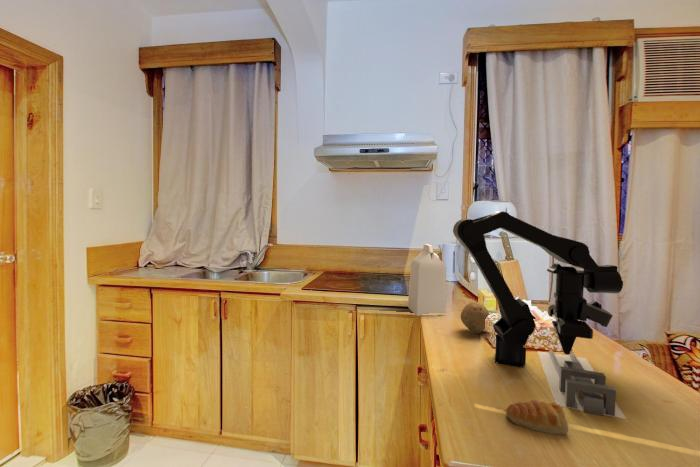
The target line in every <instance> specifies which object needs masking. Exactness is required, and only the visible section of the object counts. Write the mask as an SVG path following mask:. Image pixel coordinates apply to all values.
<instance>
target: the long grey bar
mask: <svg viewBox="0 0 700 467" xmlns="http://www.w3.org/2000/svg"><path fill="white" fill-rule="evenodd" d="M564 367H568V368H574V369H581V370H584V368H583V367H582V365H581V364H580V363H578V362H571V361H565V364H564ZM569 379H570V380H576V381H582V382H588V383H593V382H592V381H591V379H589V378H583V377H577V376H571V375H569ZM575 396H576V398H577V400H578V402H579V404H580V406H581V408H582V410H583V411H582V410H581V411H582V412H584V413H588V414H591V415H592V414H593V415H597V416H604V415H603V408H604V399H603V398H602V396H601V395H600V393H597V392H591V391H585V390H580V389H576V394H575Z"/></svg>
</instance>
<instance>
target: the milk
mask: <svg viewBox="0 0 700 467" xmlns="http://www.w3.org/2000/svg"><path fill="white" fill-rule="evenodd" d="M409 271H410V272H409V273H410V274H409V283H408V284H409V287H408V299H407V300H408V301H407V308H408V309H409V310H410V311H411V312H413V314H414V315H416V317H422V316H421V315H422V314H429V313H447V312H448V311H447V306H448V305H447V267H446V265H445V263H444V262H443V261H442V260H441V259H440V256H439V255H438V254H437V253H435V252H434V248H433V245H431V244H428V243H423V247H422V250H421V252H420V253H419V254H418V255H417V256H415V257H414V258H413V259H412V260H411V263H410V270H409Z"/></svg>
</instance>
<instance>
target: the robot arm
mask: <svg viewBox="0 0 700 467" xmlns="http://www.w3.org/2000/svg"><path fill="white" fill-rule="evenodd" d="M499 229H501V230H503V231H506V232H508V233H510V234H512V235H514V236H516V237H517V238H520V239H523V240H525V241H527V242H529V243H530V244H533V245H535V246H538V247H539V248H541V249H542V250H543V251H545V252H546V253H547V254H548V255H550V256H551V257H552V258H554V259H555V260H556V261H558V262H561V263H562V264H563V263H564V264H568V265H571V266H564V265H563V266H562V265H561V264H560V263H558V262H554V263H553V264H552V265H551V266H549V267H548V268H547V269H546V272H548V273H550V274H551V273H552V274H554V275H556V276H555V277H556V278H555V292H554V293H553V297H554V298H555V299H554V300H555V301H554V304H550V305H549V306H548V308H547V314H548V317H553V316H554V318H555V320H552V321H551V323H552V326H553V329H554V331H555V333H556V336H557V338H558V341H559V344H560V347H561V350H562V352H563V355H566V356H570V353H572V349H573V346H574V343H575V341H576V340H577V338H581V339H589V340H592V339H594V330H593V328H592V327H591V326H590V325H589V324H588V323H587V320H589V321H592V322H595V323H597V324H599V325H600V326H602V327H603V328H604V327H605V328H608V326H609V324H610V322H611V321H612V318H613V316H614V315H613V314H612V313H611V312H609V311H608V310H606V309H604V308H603V307H602V304H601V303H600V302H599V301H596V300H592V301H590V302H588V301H587V299H586V298H585V296H584V289H586V291H587V292H588V293H590V294H591V293H593V294H595V293H597V294H618V293H620V292H621V291H622V290H623V288H624V281H623V280H622V279H623V278H622V275H621V274H620V272H619V271H618V266H617V265H613V264H605V265H602V264H601V265H598V263H597V262H596V261H595V260H594V259H593V257H592V256H591V254H590V249H589V248H590V247H588V245H587V244H585V243H584V242H581V241H577V240H574V239H570V238H566V237H562V236H558V235H555V234H552V233H550V232H548V231H545V230H543V229H541V228H539V227H536V226H535V225H532V224H530V223H528V222H526V221H524V220H522V219H520V218H518V217H515V216H513V215H511V214H509V212H506V211H504V210H503V211H495V212H493V213H491V214H488V215H484V216H481V217H476V218H473V219H471V218H463V219H459V220H458V221H456V222H455V223H454V225H453V228H452V233H453V235H454V237H455V238H456V239H457V240H458V242H459V243H460V244H461V246H463V247H464V249H465V250H466V251H467V253H469V254H470V255H471V258H472V259H473V261H474V262H475V264H476V266H477V267H478V269H479V271H480V273H481V275H482V276H483V278H484V280H485V282H486V284H487V285H488V287H489V289H490V290H491V293H492V295H493V296H494V298H495V300H496V302H497V306H498V310H499V314H500V316H501V317H500V318H499V319H498V320H497V321H496V322H495V323H493V325H492V327H493V329H494V330H493V331H494V332H495V333H496V334H495V349H494V350H495V351H494V363H495V364H499V365H503V366H510V367H514V368H515V367H517V368H524V367H525V366H524V365H526V359H527V357H526V356H527V348H526V344H527V343H528V340H529V337H530V336H531V335H532V334H533V333H534V332H535V329H536V327H537V325H536V322H535V320H536V319H537V318H536V317H535V316H534V314H532V311H531V309H530V306H529V304H528V303H527V302H525V301H523V300H522V299H520V298H516V297H515V296H514V294H513V293H512V291H511V289H510V287H509V286H508V284H507V282H506V280H505V278H504V277H503V275H502V273H501V272H500V269H499V268H498V266H497V264H496V262H495V261H494V259H493V258H492V255H491V254H490V252H489V250H488V247H487V243H486V237H485V235H486V234H488V233H489V234H490V233H491V232H494V231H497V230H499ZM575 267H576V268H575ZM577 268H579V269H583V270H579V269H578V270H577Z"/></svg>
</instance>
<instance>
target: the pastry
mask: <svg viewBox="0 0 700 467" xmlns="http://www.w3.org/2000/svg"><path fill="white" fill-rule="evenodd" d="M505 414H506V416H507V418H508V419H509V420H510V421H511V422H513V423H514V424H515V425H518V426H521V427H524V428H527V429H530V430H532V431H534V432H541V433H546V434H553V435H559V436H560V435H561V436H563V435H566V434H567V433H568V432H569V426H568V421H567V418H566V415H565V411H564V409H563V407H562V406H560V405H558V404H557V403H555V401H553V402H552V403H550V402H546V401H541V400H540V401H539V400H537V399H531V400H530V401H526V402H521V401H519V402H517V403H513V404H510V405H508V406H507V408H506V413H505Z"/></svg>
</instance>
